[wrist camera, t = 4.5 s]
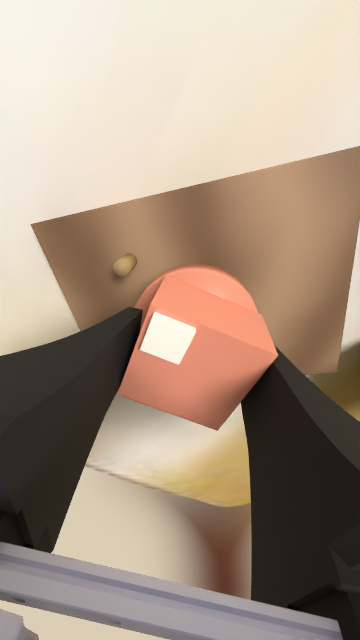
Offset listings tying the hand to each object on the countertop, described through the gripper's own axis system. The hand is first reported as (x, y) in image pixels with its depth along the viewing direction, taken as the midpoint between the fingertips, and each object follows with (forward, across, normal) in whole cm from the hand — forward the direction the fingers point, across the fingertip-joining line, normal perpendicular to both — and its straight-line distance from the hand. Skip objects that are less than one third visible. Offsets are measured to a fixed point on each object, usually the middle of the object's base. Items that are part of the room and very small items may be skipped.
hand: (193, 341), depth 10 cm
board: (+5, 0, 0) cm, 5 cm away
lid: (+2, 0, 0) cm, 2 cm away
